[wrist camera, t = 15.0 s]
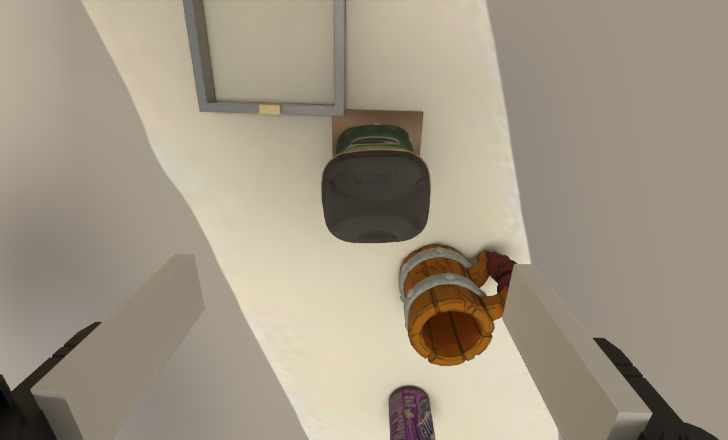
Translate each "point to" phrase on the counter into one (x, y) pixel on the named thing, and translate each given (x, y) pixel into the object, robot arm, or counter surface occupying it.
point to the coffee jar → (375, 186)
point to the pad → (380, 123)
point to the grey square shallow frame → (209, 103)
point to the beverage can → (410, 416)
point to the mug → (452, 302)
